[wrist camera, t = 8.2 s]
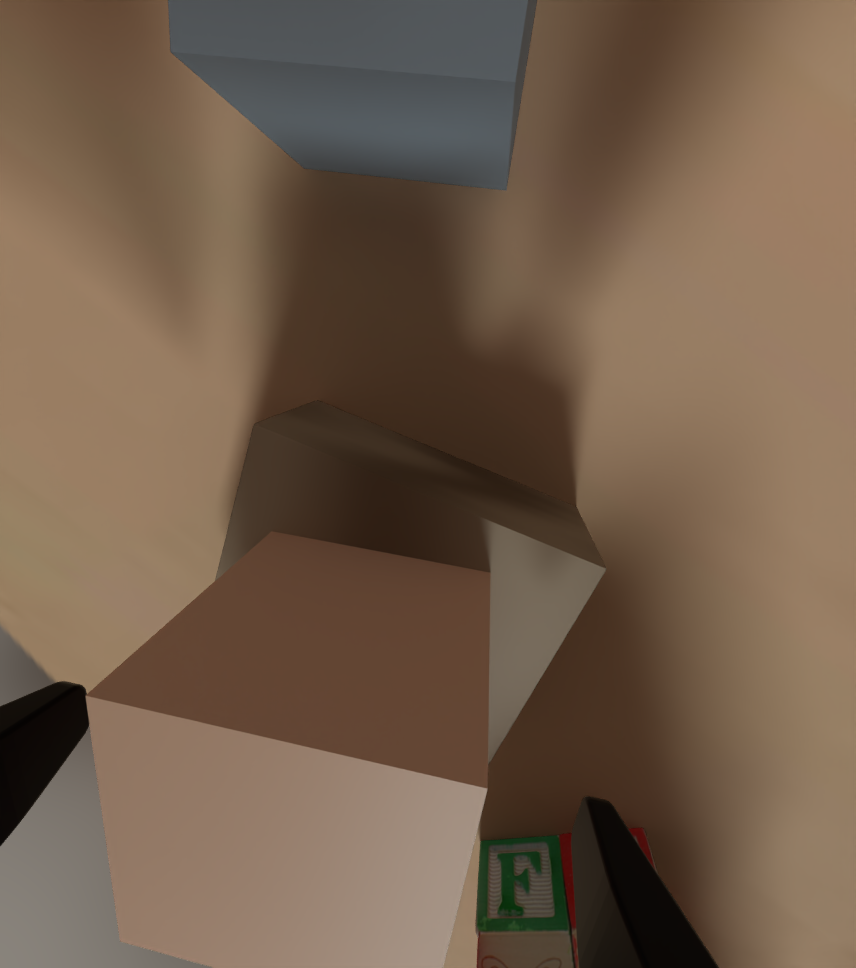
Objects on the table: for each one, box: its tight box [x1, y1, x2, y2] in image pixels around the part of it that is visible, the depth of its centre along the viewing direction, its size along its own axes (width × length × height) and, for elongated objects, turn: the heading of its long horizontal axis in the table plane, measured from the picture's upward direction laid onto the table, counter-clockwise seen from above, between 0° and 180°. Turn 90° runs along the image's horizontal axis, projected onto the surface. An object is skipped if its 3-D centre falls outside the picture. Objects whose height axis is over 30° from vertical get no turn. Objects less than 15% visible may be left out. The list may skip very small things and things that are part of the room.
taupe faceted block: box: [215, 400, 606, 765], centre depth 13 cm, size 8×8×4 cm
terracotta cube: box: [86, 531, 491, 968], centre depth 9 cm, size 5×5×5 cm
